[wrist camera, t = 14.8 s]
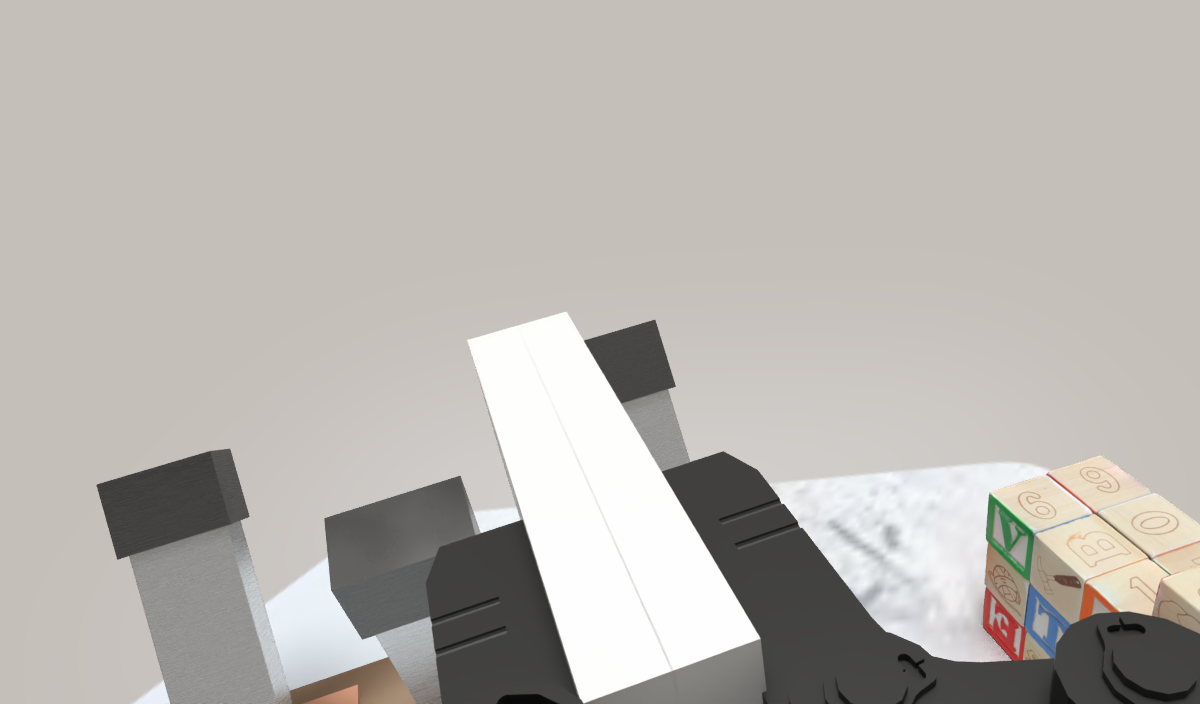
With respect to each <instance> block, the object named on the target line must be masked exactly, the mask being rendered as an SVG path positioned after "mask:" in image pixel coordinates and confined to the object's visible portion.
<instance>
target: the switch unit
mask: <svg viewBox="0 0 1200 704" xmlns="http://www.w3.org/2000/svg"><path fill="white" fill-rule="evenodd" d="M289 692H290V696H291V699H292V703H293V704H417V703H416V702H415V700H414V698H413V697H412V695H411V693H410V692H409V690H408V688H407V687H406V685H405V683H404V682H403V680H402V678H401V677H400V675H399V673H398V672H397V670H396V668H395V667H394V665H393V663H392V662H391V660H390V659H389V657H387V658H384V659H382V660H379V661H376V662H373V663H370V664H367V665H364V666H361V667H358V668H355V669H352V670H350V671H347V672H344V673H341V674H338V675H335V676H332V677H329V678H326V679H323V680H320V681H318V682H315V683H312V684H309V685H306V686H303V687H300V688H297V689H294V690H291V691H289Z"/></svg>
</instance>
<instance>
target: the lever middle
mask: <svg viewBox="0 0 1200 704" xmlns="http://www.w3.org/2000/svg"><path fill="white" fill-rule="evenodd" d="M325 530H326V541H327V551H328V562H329V572H330V583H331V591H332V592H333V594H334V595H335V597H336V599H337V600H338V602H339V603H340V605H341V606H342V608H343V610H344V611H345V613H346V614H347V616H348V618H349V619H350V621H351V622H352V624H353V626H354V627H355V629H356V630H357V632H358V633H359V635H360V637H361V638H362V639H365V638H368V637H371V636H374V635H376V637H377V639H378V640H379V642H380V644H381V645H382V647H383V649H384V650H385V652H386V654H387V655H388V657H389V659H390V660H391V662H392V663H393V665H394V667H395V668H396V670H397V672H398V673H399V675H400V677H401V678H402V680H403V682H404V683H405V685H406V687H407V688H408V690H409V692H410V693H411V695H412V697H413V698H414V700H415V702H416V703H417V704H442V701H441V694H440V686H439V679H438V671H437V664H436V658H437V657H436V653H435V649H434V642H433V634H432V623H431V619H430V612H429V604H428V597H427V590H426V581H427V579H428V576H429V573H430V570H431V568H432V565H433V562H434V560H435V557H436V554H437V552H438V549H439V547H441V546H444V545H447V544H450V543H453V542H456V541H459V540H462V539H465V538H468V537H471V536H474V535H477V534H480V530H479V527H478V524H477V521H476V519H475V516H474V513H473V510H472V507H471V504H470V502H469V499H468V496H467V493H466V490H465V488H464V485H463V482H462V479H461V476H458V477H455V478H451V479H448V480H445V481H442V482H439V483H436V484H432V485H429V486H427V487H423V488H420V489H416V490H414V491H410V492H407V493H404V494H400V495H397V496H394V497H391V498H388V499H385V500H381V501H378V502H375V503H372V504H369V505H365V506H363V507H359V508H356V509H353V510H350V511H346V512H343V513H340V514H337V515H334V516H330V517H327V518H325Z"/></svg>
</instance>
